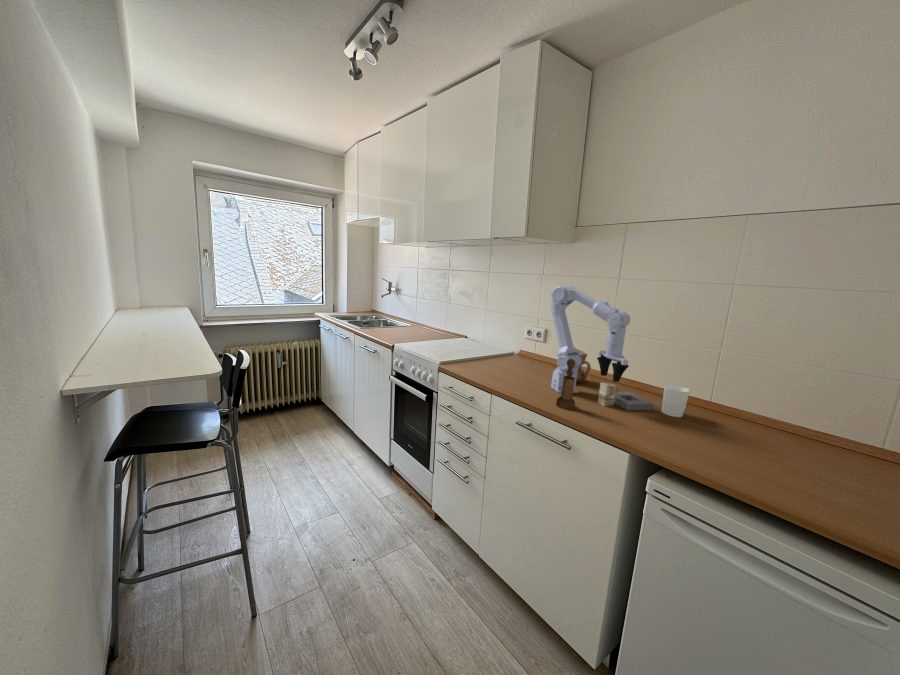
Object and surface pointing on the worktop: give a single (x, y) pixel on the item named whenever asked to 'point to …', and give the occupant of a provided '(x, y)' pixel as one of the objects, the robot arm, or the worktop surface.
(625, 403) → the socket board
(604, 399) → the peg
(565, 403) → the brown capped rod
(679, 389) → the white cup
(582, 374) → the ceramic jug
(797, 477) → the worktop surface
